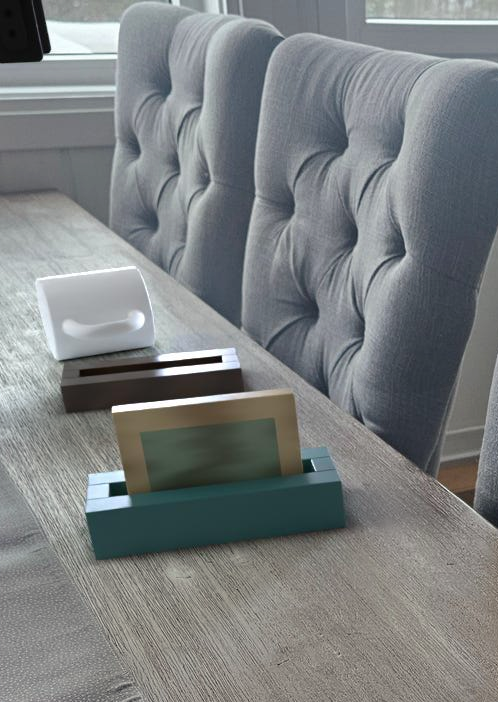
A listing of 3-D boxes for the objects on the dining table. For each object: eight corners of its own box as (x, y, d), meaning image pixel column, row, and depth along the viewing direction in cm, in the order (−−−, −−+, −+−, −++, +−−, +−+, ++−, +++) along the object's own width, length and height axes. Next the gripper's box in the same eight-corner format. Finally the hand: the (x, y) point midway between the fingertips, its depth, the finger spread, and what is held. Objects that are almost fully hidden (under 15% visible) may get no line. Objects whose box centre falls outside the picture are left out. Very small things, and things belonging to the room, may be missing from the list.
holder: (95, 560, 75) (84, 512, 74) (98, 519, 81) (87, 473, 79) (346, 527, 79) (341, 480, 77) (331, 489, 85) (326, 445, 83)
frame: (137, 537, 78) (111, 412, 74) (137, 529, 80) (111, 405, 75) (308, 515, 81) (294, 393, 76) (305, 507, 82) (291, 386, 77)
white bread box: (48, 350, 119) (30, 271, 114) (143, 335, 122) (128, 259, 118) (68, 380, 109) (49, 296, 105) (170, 363, 113) (155, 282, 109)
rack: (66, 413, 101) (59, 386, 100) (69, 390, 107) (63, 364, 105) (245, 394, 104) (241, 367, 103) (239, 372, 110) (235, 347, 109)
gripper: (-80, -223, 79) (-16, 54, 88) (-126, -266, 65) (-44, 68, 74) (31, -222, 81) (82, 49, 90) (10, -265, 67) (74, 63, 76)
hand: (25, 58), depth 82 cm, fingers open, 9 cm apart
